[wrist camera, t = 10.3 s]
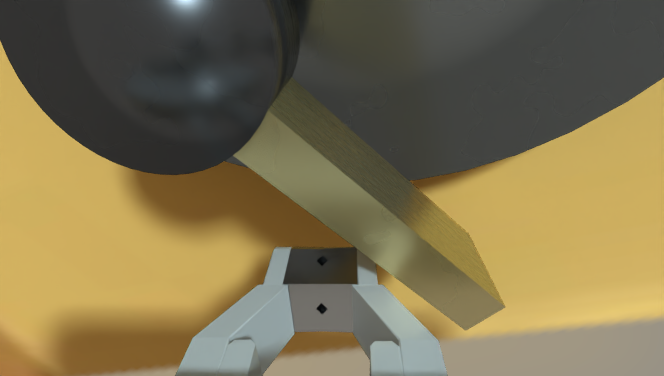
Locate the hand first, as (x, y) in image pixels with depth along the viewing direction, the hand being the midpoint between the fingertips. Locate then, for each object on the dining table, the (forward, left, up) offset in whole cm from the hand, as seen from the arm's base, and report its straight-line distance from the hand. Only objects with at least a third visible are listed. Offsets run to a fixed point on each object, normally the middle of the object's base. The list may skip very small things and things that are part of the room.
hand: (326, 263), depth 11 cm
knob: (+2, -3, -1) cm, 4 cm away
